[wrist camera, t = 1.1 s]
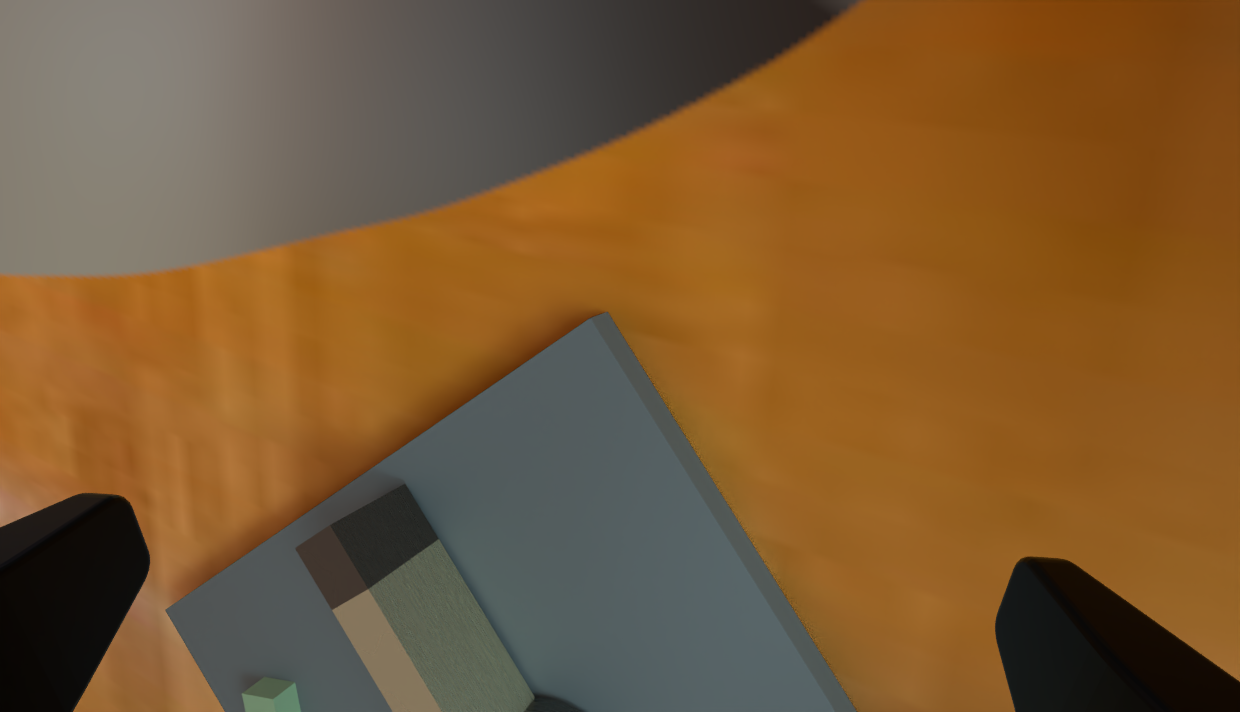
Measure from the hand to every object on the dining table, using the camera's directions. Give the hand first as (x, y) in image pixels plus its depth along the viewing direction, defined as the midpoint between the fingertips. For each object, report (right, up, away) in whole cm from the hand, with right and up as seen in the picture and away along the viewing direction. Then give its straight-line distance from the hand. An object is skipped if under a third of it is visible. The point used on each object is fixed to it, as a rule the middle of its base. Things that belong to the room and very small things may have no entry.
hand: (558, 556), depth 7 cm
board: (-3, -10, +17) cm, 20 cm away
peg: (-3, -8, +15) cm, 17 cm away
